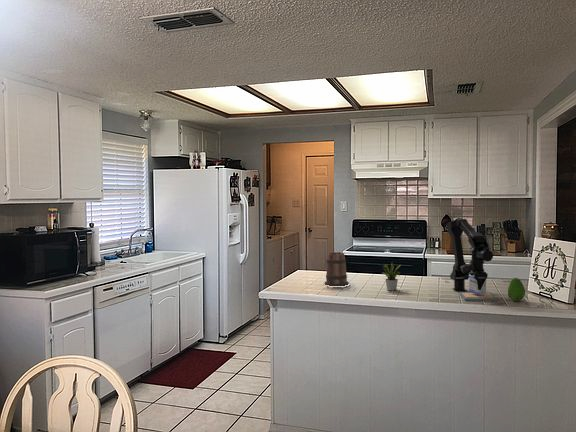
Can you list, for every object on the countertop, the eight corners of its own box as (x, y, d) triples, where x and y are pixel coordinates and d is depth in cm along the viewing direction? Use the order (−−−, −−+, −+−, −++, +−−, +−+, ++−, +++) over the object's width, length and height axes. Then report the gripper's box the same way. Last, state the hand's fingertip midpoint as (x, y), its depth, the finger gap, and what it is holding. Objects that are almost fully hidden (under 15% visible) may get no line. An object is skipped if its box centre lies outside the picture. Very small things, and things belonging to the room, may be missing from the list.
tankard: (347, 288, 291) (346, 255, 290) (319, 287, 296) (319, 254, 295) (354, 281, 313) (354, 250, 312) (328, 280, 318) (328, 249, 317)
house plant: (374, 291, 279) (374, 263, 278) (379, 287, 292) (378, 260, 291) (400, 293, 274) (400, 264, 273) (403, 288, 287) (403, 260, 286)
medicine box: (468, 292, 260) (468, 275, 259) (475, 291, 262) (475, 275, 261) (480, 294, 253) (479, 278, 252) (486, 293, 254) (486, 277, 254)
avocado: (508, 302, 244) (508, 278, 244) (507, 299, 252) (507, 276, 251) (526, 303, 241) (526, 279, 241) (524, 300, 249) (524, 276, 248)
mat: (459, 294, 266) (459, 291, 266) (490, 294, 264) (490, 292, 264) (464, 300, 251) (464, 298, 251) (497, 301, 248) (497, 298, 248)
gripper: (458, 256, 267) (458, 284, 268) (464, 261, 248) (464, 291, 249) (479, 256, 265) (479, 284, 266) (487, 261, 247) (487, 292, 247)
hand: (477, 288), depth 257 cm, fingers closed on medicine box, 9 cm apart
